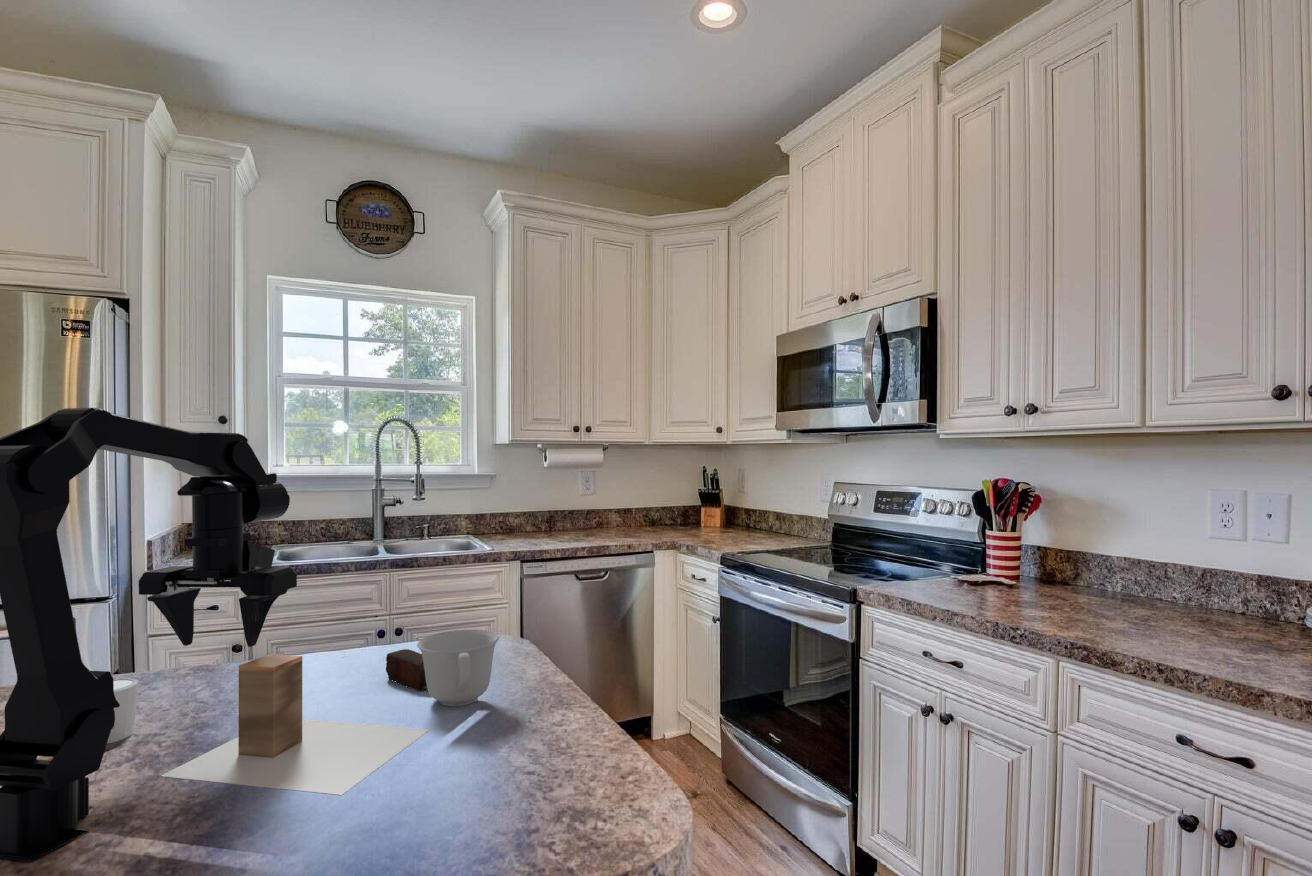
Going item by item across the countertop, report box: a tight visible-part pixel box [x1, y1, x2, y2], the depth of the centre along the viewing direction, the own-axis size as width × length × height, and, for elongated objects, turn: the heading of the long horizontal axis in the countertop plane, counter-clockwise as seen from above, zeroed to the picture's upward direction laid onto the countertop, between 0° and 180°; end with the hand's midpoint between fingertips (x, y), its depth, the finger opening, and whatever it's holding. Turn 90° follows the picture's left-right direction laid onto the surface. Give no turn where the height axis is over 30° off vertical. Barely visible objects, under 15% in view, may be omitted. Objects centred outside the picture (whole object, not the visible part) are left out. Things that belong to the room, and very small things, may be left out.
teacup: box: [416, 629, 500, 707], centre depth 102 cm, size 12×15×10 cm
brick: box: [385, 648, 428, 692], centre depth 114 cm, size 11×4×5 cm, turn 52°
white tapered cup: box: [107, 678, 140, 745], centre depth 93 cm, size 7×7×7 cm
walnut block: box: [238, 653, 303, 758], centre depth 87 cm, size 5×5×11 cm
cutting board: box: [160, 718, 431, 796], centre depth 85 cm, size 18×24×1 cm
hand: (219, 645), depth 90 cm, fingers open, 9 cm apart
